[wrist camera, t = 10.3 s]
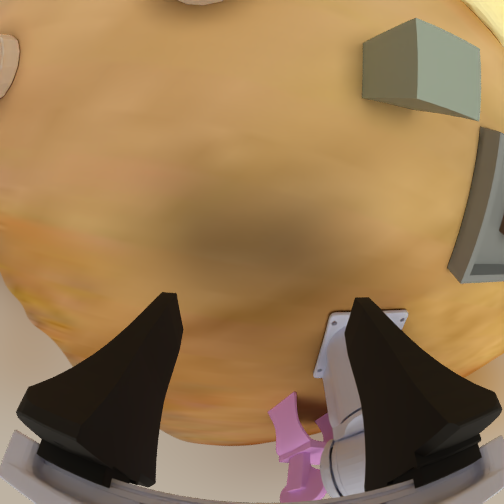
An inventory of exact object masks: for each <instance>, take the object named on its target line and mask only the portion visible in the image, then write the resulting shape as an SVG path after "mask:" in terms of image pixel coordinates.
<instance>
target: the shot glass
mask: <svg viewBox="0 0 504 504" xmlns="http://www.w3.org/2000/svg"><path fill="white" fill-rule="evenodd" d="M179 1H181V2H183V3H185V4H193V5H207V4H212V3H217V2H221V1H223V0H179Z"/></svg>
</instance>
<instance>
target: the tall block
mask: <svg viewBox="0 0 504 504" xmlns="http://www.w3.org/2000/svg"><path fill="white" fill-rule="evenodd" d="M362 98H364V99H369V100H374V101H379V102H384V103H388V104H392V105H397V106H401V107H405V108H409V109H412V110H419V111H427V112H433V113H440V114H446V115H451V116H457V117H462V118H467V119H471V120H476V121H479V119H480V103H481V62H480V49H479V48H477V47H476V46H474V45H472V44H470V43H469V42H467V41H465V40H463V39H461V38H459V37H457V36H455V35H453V34H451V33H449V32H447V31H445V30H443V29H441V28H439V27H436V26H434V25H432V24H430V23H427V22H425V21H422V20H420V19H417V18H414V19H412V20H410V21H407V22H405V23H403V24H401V25H398V26H396V27H394V28H392V29H390V30H388V31H386V32H384V33H382V34H380V35H378V36H376V37H374V38H372V39H370V40H368V41H366V42H364V43H363V80H362Z"/></svg>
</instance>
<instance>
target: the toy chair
mask: <svg viewBox="0 0 504 504" xmlns="http://www.w3.org/2000/svg"><path fill="white" fill-rule="evenodd" d="M268 414H269V416H270V418H271V419H272V421H273V424H274V426H275V429H276V452H277V454H278V455H279V462H285V463H289V469H288V479H287V486H286V487H285V488H284V489H283V490H282V492H281V495H280V503H285V502H302V501H313V500H321V499H322V498H323V497H324V496H325V494H326V493H327V491H326V490H325V487H324V485H323V482H322V479H321V473H320V470H318V469H315V468H313V467H312V466H311V464H317V465H320V459H321V454H322V452H323V450H324V447H325V445H326V443H327V442H328V441H329V440H331V439H334V438H333V430H332V426H331V424H330V421H329V416H328V412H327V413H326V414H324V415H323V416H321V417H320V418H318V419H317V420H315V422H316V424H317V425H318V426H319V428H320V430H321V431H322V434H323V437H324V442H321V441H316V440H313V439H311V438H310V437H309V436H308V434H307V433H306V431H305V430H304V428H303V427H302V425H301V423H300V421H299V418H298V413H297V393H296V392H293V393H291V394H290V395H289V396H288V397H286V398H285V399H284V400H283V401H281V402H280V403H279V404H277V405H276V406H275V407H273V408H272V409H271V410H269V411H268Z"/></svg>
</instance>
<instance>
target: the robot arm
mask: <svg viewBox="0 0 504 504" xmlns="http://www.w3.org/2000/svg"><path fill="white" fill-rule="evenodd" d="M407 317H408V312H407V310H390V311H382V310H381V309H380V308H379V307H378V306H377V305H376V304H375V303H374V302H373V301H372V300H371V299H370V298H369V297H364V298H355V300H354V303H353V307H352V310H351V312H335V313H332V314H331V315H330V316H329V320H328V324H327V327H326V331H325V335H324V338H323V342H322V346H321V349H320V353H319V356H318V359H317V363H316V366H315V369H314V372H313V376H314V377H315V378H323V384H324V390H325V397H326V403H327V410H328V416H329V421H330V424H331V426H332V430H333V438H334V439H331V440H329V441H328V442H327V443H326V445H325V447H324V450H323V452H322V454H321V459H320V473H321V479H322V482H323V485H324V487H325V490H326V491H327V493H328V494H329V495H330V497H331V498H329V499H321V500H313V501H302V502H285V503H241V502H226V501H215V500H206V499H198V498H191V497H185V496H179V495H174V494H169V493H164V492H160V491H155V490H151V489H147V488H143V487H139V486H136V485H142V486H145V487H150V486H152V485H154V484H155V482H156V481H155V478H156V457H157V445H158V436H159V429H160V421H161V415H162V409H163V404H164V399H165V395H166V392H167V389H168V385H169V382H170V379H171V376H172V373H173V369H174V366H175V363H176V360H177V357H178V353H179V350H180V345H181V339H182V334H183V325H182V321H181V316H180V310H179V305H178V300H177V294H176V293H165V292H162V293H161V294H160V295H159V296H158V297H157V298H156V299H155V300H154V301H153V302H152V303H151V304H150V305H149V306H148V307H147V308H146V309H145V310H144V311H143V312H142V313H141V314H140V315H139V316H138V317H137V318H136V319H135V320H134V321H133V322H132V323H131V324H130V325H129V326H128V327H126V328H125V329H124V330H123V331H122V332H121V333H120V334H119V335H117V336H116V337H115V338H114V339H113V340H112V341H110V342H109V343H108V344H107V345H105V346H104V347H103V348H101V349H100V350H99V351H97V352H96V353H95V354H93V355H92V356H90V357H89V358H87V359H85V360H84V361H82V362H81V363H79V364H77V365H76V366H74V367H72V368H71V369H69V370H67V371H65V372H63V373H61V374H59V375H57V376H55V377H53V378H51V379H48V380H46V381H43V382H41V383H38V384H36V385H33V386H30V387H29V388H28V389H27V391H26V393H25V395H24V397H23V399H22V401H21V403H20V405H19V407H18V409H17V411H16V413H17V416H18V418H19V419H20V420H21V421H22V422H23V423H24V424H25V425H26V426H27V427H28V428H29V429H31V430H32V431H33V432H34V433H35V434H36V435H38V436H39V437H40V438H41V439H42V440H41V443H40V444H39V443H37V442H36V441H34V440H32V439H31V438H29V437H27V436H26V435H24V434H22V433H21V432H19V431H17V430H14V433H13V435H12V437H11V440H10V442H9V445H8V447H7V450H6V452H5V455H4V458H3V460H2V463H1V466H0V477H1V478H2V479H3V480H4V481H6V482H7V483H8V484H10V485H11V486H12V487H13V488H15V489H16V490H17V491H19V492H20V493H21V494H23V495H24V496H25V497H27V498H28V499H29V500H31V501H32V502H34V503H35V504H483V503H484V502H486V501H487V500H489V499H490V498H491V497H493V496H494V495H495V494H497V493H498V492H499V491H501V490H502V489H503V488H504V440H503V437H502V436H498V437H497V438H495V439H493V440H492V441H490V442H488V443H486V444H485V445H483V446H481V447H480V448H479V446H478V442H480V441H481V437H480V434H479V433H480V432H482V431H483V430H484V429H485V428H486V427H487V426H489V425H490V424H491V423H492V422H493V421H494V420H495V419H496V418H497V417H498V416H499V415H500V413H501V411H502V407H501V405H500V403H499V400H498V398H497V396H496V394H495V392H493V391H491V390H488V389H486V388H483V387H481V386H479V385H476V384H474V383H472V382H470V381H468V380H467V379H465V378H463V377H461V376H459V375H458V374H456V373H454V372H453V371H451V370H450V369H448V368H447V367H445V366H444V365H442V364H441V363H439V362H438V361H436V360H435V359H434V358H433V357H431V356H430V355H429V354H427V353H426V352H425V351H424V350H422V349H421V348H420V347H419V346H418V345H417V344H416V343H414V342H413V341H412V340H411V339H410V338H409V337H408V336H407V335H406V334H405V333H404V332H403V331H402V328H403V326H404V323H405V321H406V319H407ZM334 321H336V322H334ZM129 483H132V484H135V485H132V484H129Z"/></svg>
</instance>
